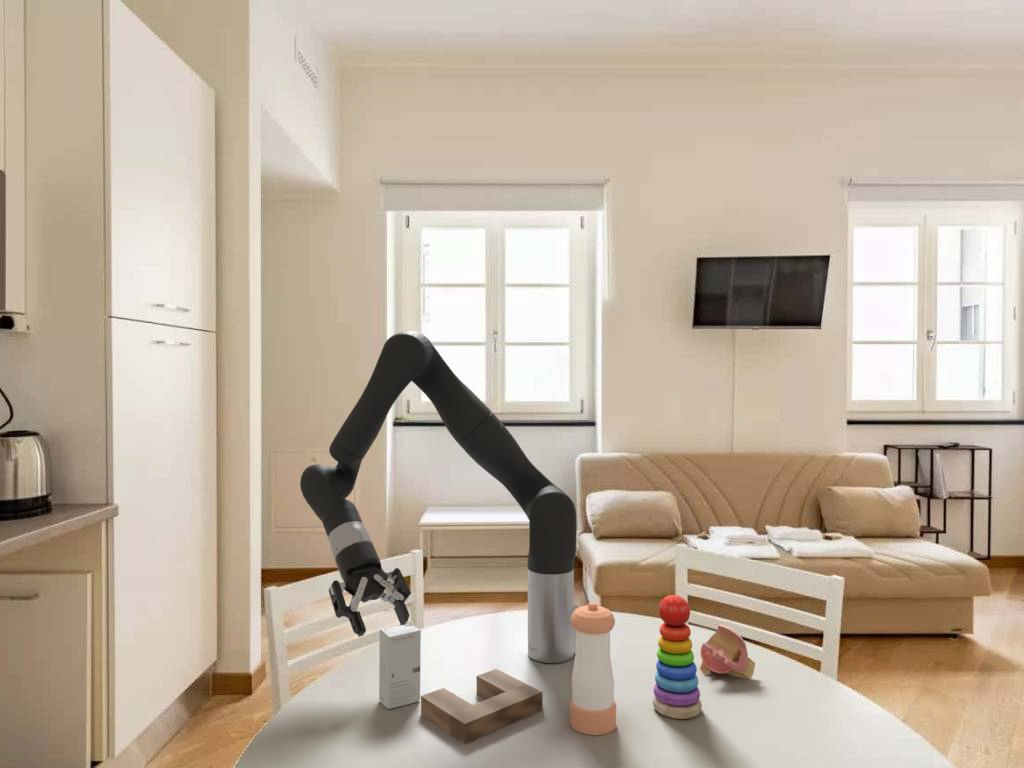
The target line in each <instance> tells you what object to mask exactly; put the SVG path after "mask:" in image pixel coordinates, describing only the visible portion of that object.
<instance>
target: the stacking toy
mask: <svg viewBox="0 0 1024 768" xmlns="http://www.w3.org/2000/svg"><path fill="white" fill-rule="evenodd" d="M658 612H659V616H660V619H661V620H662V621H663V622H664V623H661V625H660V626H659V634H660V637H659V638H658V641H657V645H658V647H659V648H658V649H657V651H656V656H657V662H656V663H655V664H656V665H655V667H656V673H655V674H654V680H655V683H654V686H653V694H654V696H653V698H652V705H653V708H654V709H655V710H656V711H657V712H658V713H659V714H661V715H663V716H665V717H668V718H671V719H678V720H685V719H687V720H688V719H691V718H694V717H696V716H698V715H700V713H701V711H702V709H703V708H702V707H703V704H702V700H700V699H701V698H700V697H701V692H700V689H699V687H698V686H699V677H698V675H697V674H696V673H697V670H698V669H697V665H696V663H695V661H694V660H695V653H694V652H693V650H692V648H693V642H692V640H691V638H690V636H691V633H692V631H691V628H690V626H689V625H688V624H687V622H688V620H689V619H690V616H691V608H690V605H689V603H688V601H687V600H686V599H685V598H684V597H682V596H680V595H677V594H670V595H667V596H665V597H664V598H662V599H661V601H660V602H659V607H658Z"/></svg>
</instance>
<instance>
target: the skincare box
mask: <svg viewBox="0 0 1024 768" xmlns="http://www.w3.org/2000/svg"><path fill="white" fill-rule="evenodd" d="M421 637H422V636H421V629H420V628H419V627H416V625H413V624H412V623H406V624H405V625H395V626H391V627H386V628H382V629H381V628H380V629H379V656H378V657H379V660H378V661H379V662H378V663H379V668H378V670H379V671H378V673H379V674H378V675H379V676H378V677H379V680H378V682H379V683H378V685H379V686H378V687H379V688H378V695H379V696H378V700H379V701H380V702H381V704H382V705H383V706H384V707H385V708H386V709H387V710H391V709H394V708H399V707H403V706H407V705H410V704H414V703H417V702H419V701H421V643H422V642H421V639H422V638H421Z"/></svg>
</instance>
